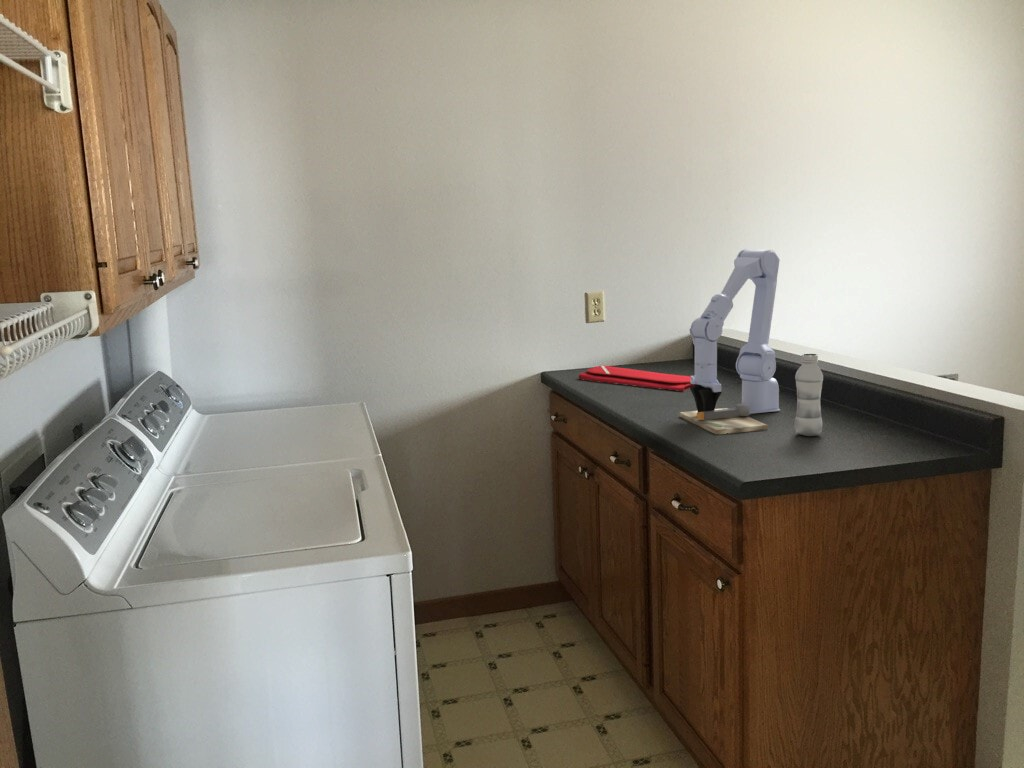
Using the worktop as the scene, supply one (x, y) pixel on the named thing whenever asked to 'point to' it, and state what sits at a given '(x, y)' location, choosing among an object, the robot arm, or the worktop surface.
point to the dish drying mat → (637, 378)
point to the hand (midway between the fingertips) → (705, 414)
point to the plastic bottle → (808, 396)
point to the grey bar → (725, 412)
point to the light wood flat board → (725, 423)
